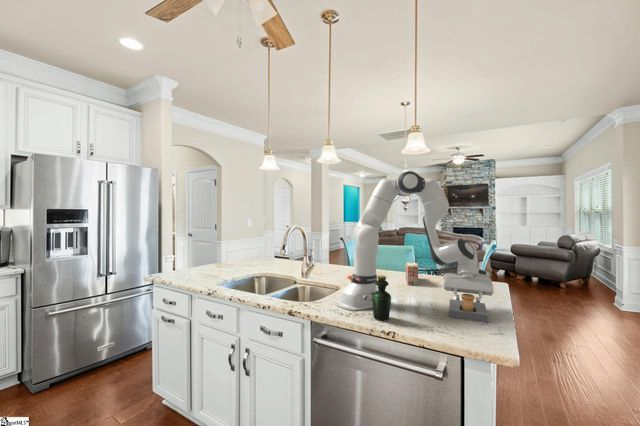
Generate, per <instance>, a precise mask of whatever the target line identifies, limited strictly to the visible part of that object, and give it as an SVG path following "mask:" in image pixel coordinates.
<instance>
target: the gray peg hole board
mask: <svg viewBox="0 0 640 426" xmlns="http://www.w3.org/2000/svg"><path fill="white" fill-rule="evenodd" d="M448 317H449V318H453V319H461V320H467V321H474V322H482V323H489V313H488V309H487V307H486V304H485V303H483V302H480V303H478V302H476V301H473V312H471V311H463V310H462V298H461V297H460V300H456V299H454V298H453V299H452V298H450V299H449V307H448Z"/></svg>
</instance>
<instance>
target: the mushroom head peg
mask: <svg viewBox="0 0 640 426" xmlns="http://www.w3.org/2000/svg"><path fill="white" fill-rule="evenodd" d="M461 298H462V299H461ZM460 299H461V300H462V310H463V311H471V312H473V302H474V300H475V294H471V293H461V295H460Z"/></svg>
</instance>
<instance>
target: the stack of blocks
mask: <svg viewBox="0 0 640 426" xmlns="http://www.w3.org/2000/svg"><path fill="white" fill-rule="evenodd" d="M404 266H405V280H406V284H407V286H409V287H410V286H413V287H418V286H419V265H418V263H417V262H406V264H405V265H404Z"/></svg>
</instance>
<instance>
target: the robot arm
mask: <svg viewBox="0 0 640 426" xmlns="http://www.w3.org/2000/svg"><path fill="white" fill-rule="evenodd" d="M412 195H416V196H417V197H418V199H420V200H421V204H422V205H423V208H424V216H423V217H422V221H423V222H422V223H423V228H424V231H425V236H426V239H427V242H428V245H429V251H430V257H431V260H432V262H434V263H435V264H436V265H438V266H441V267H443V266H446V265H448V264H451V263H455V262H457V264H458V265H457V271H456V272H445V273H443V280H444V281H443V290H445V291H446V292H448V291H449V292H453V294H454V296H455V300H461V295H460V294H458V293H462V294H471V295H478V296H476V298H475V302H478V303H481V299H482V298H483V296H493V294H494V284H493V281H492V279H491V278H490V273H489V271H486V270H484V269H481V268H479V267H478V263H479V261H478V259H479V258H478V253H477V249H476V247H475V245H473V244H471V243H470V242H469V241H467V240H466V239H463V238H458V239H454V240H451V241H448V242H444V243H440V239H439V236H438V234H437V230H436V226H437V224H438V223H439V222H440V220H441V219H444V217H445V216H446V215H447V213H448V211H449V207H450V203H449V200H448V199H447V196H446V194H445V192H444V190H443V188H442V186H441V185H440V184H439V183H438V181H437V180H436V179H434V178H430V177H429V178H424V177H422V176H421V175H420V174H419V173H417V172H416V171H412V170H408V171H404V172H402V173H401V174H400V175H399V176H398V177H397V178H396V179H394V180H393V179H392V178H391V179H390V178H382V179H381V180H380V181H378V183H377V185H376V186H375V188H374V190H373V192H372V194H371V195H370V198H369V200H368V202H367V204H366V206H365V209H364V210H363V213H362V215H360V217H359V220H358V222H356V223H357V224H356V225H355V227H354V229H353V231H352V234H353V235H352V236H353V239H354V241H355V245H354V246H355V247H354V256H353V274H352V275H350V274H348V275H347V277H346V278H347V280H350V282H349V283H348V284H347V285H346V286H345V288H343V289H342V290H341V291H340V296H339V299H338V300H336V301H334V304H335V305H336V306H337V307H340V308H341V309H344V310H349V311H362V310H367V309H373V303H372V294H373V293H374V292H376V291H378V287H377V285H375V282H376V281H378V277H377V276H378V275H377V256H378V249H379V241H380V240H379V239H380V236H379V229H380V228H381V226H382V225H383V223H384V222H385V220H386V218H387V216H388V214H389V212H390V209H391V207H392V205H393V202H395V201H394V200H395V199H396V197H397V196H401V197H408V196H412Z"/></svg>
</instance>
